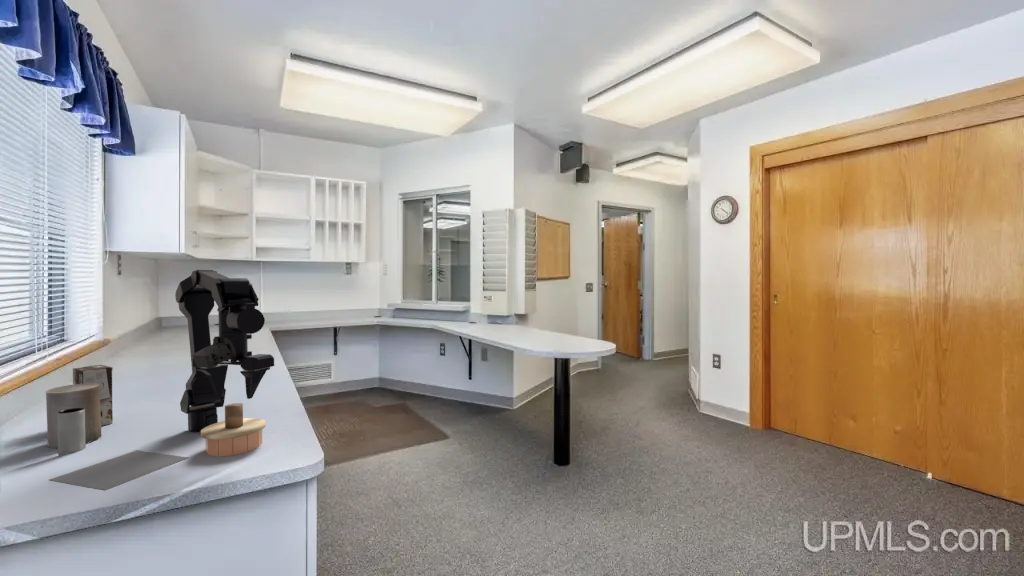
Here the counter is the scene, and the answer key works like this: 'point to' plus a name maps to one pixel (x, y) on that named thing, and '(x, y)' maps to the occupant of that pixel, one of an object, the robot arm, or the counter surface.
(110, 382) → the coffee box
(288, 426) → the counter surface
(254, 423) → the lid
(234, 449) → the bowl
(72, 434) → the planter
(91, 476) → the mat
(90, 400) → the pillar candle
